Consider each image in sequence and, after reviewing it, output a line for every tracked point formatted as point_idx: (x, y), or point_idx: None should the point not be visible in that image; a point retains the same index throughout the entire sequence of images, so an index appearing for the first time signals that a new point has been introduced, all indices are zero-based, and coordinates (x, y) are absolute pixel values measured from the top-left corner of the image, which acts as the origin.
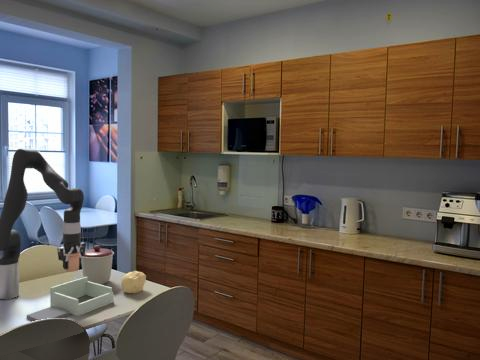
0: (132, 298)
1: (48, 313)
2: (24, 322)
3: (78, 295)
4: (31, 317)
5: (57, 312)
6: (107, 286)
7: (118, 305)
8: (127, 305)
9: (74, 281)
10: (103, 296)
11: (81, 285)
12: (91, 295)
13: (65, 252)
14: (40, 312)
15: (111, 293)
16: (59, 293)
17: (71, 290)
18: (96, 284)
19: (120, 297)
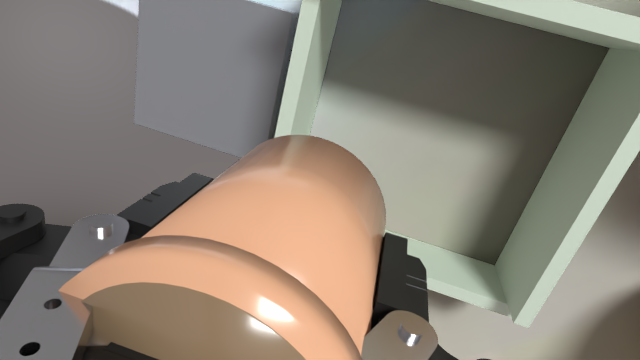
0: (580, 346)
1: (208, 76)
2: (120, 6)
3: (546, 30)
4: (139, 22)
5: (236, 114)
6: (548, 293)
7: (459, 317)
8: (469, 353)
9: (549, 20)
10: (434, 288)
11: (606, 41)
12: (579, 111)
13: (38, 334)
14: (198, 21)
15: (497, 310)
16: (307, 50)
17: (495, 13)
18: (589, 195)
19: (588, 284)
